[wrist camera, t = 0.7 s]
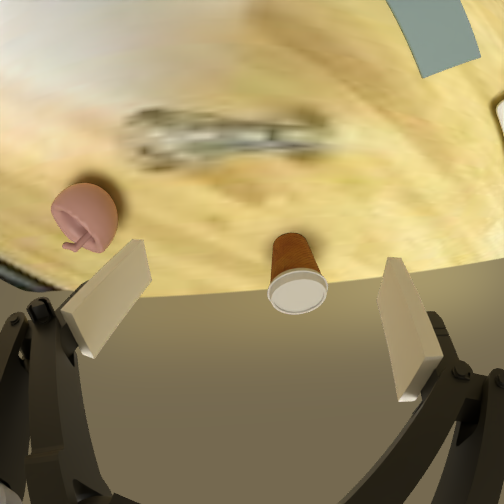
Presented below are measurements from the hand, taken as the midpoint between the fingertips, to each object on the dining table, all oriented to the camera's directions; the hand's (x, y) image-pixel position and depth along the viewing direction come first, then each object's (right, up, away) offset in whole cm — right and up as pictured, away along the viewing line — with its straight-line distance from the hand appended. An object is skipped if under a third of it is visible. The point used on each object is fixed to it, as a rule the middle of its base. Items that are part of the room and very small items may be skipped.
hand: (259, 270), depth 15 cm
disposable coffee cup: (+7, +2, +38) cm, 38 cm away
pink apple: (-27, +10, +29) cm, 41 cm away
